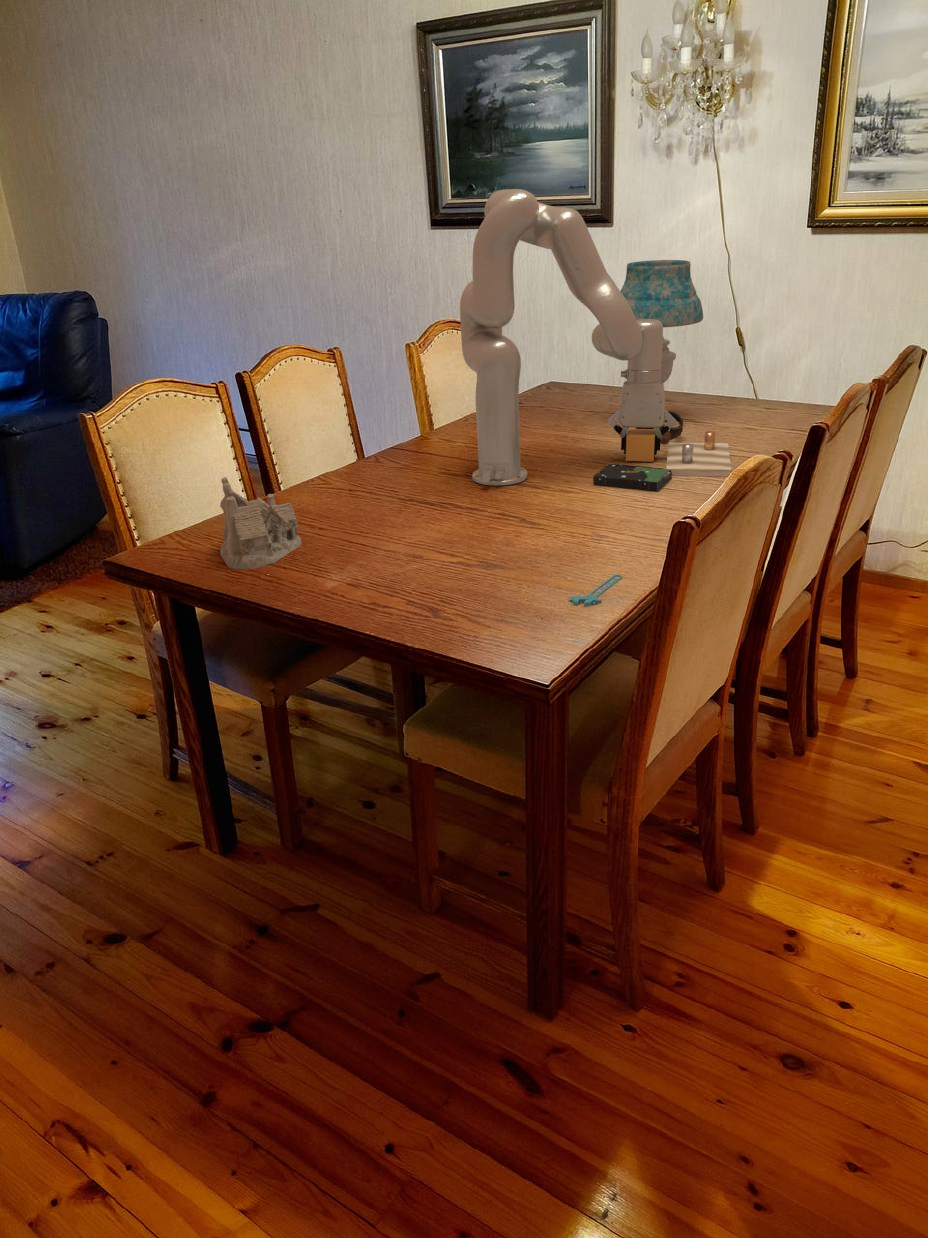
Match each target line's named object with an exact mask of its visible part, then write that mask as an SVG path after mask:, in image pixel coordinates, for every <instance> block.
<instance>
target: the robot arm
mask: <svg viewBox="0 0 928 1238" xmlns="http://www.w3.org/2000/svg"><path fill="white" fill-rule="evenodd" d="M475 234H476V235H475V237H474V242H473V248H472V280H471V281H470V282H469V283H467V285H466V286H465V287H464V289H463V291H462V294H461V297H460V301H459V302H460V303H459V316H460V321H459V322H460V336H461V340H460V341H461V351H462V356H463V360H464V362H465V364H466V365H467V366H468V367H469V368H470V369H471V370H472V371H473V372H475V373H476V383H475V384H476V385H475V415H476V416H475V417H476V435H477V436H476V439H477V440H476V441H477V460H478V469H476V470H475V471H473V472H472V475H471V479H472V481H473V482H475V483H477V484H481V485H484V486H491V487H492V486H494V487H495V486H498V487H499V486H509V485H515V484H518V483H521V482H523V481H526V479H527V478H528V470H527V469H525V468H524V467H521V439H520V437H521V435H520V432H521V431H520V402H519V401H520V399H519V398H520V396H519V395H520V394H519V389H520V387H519V386H520V379H521V378H520V377H521V367H522V361H521V354H520V351H519V349H518V347H517V346H516V344H515V343H514V341H512V340H511V339H510V338H509V337H507V336H504V335H503V327H505V326H507V325H508V324H509V323H510V322H511V320H512V319H513V317H514V313H515V304H516V303H515V288H514V287H515V285H514V283H515V282H514V260H515V259H514V257H515V251H516V249H517V246H518V243H519V242H520V241H521V242H524V243H526V244H529V245H533V246H536V247H539V248H543V249H546V250H551V252H552V254H553V257H554V259H555V260H556V263H557V265H558V268H559V269H560V272H561V274H562V275H563V278H564V280H565V282H566V284H567V286H568V289H569V291H570V293H571V294H572V295H573V296H574V297H575V298H576V299H577V301H579V302H580V303H581V304H582V305H583V306H585V307H586V308H587V309H588V310H589V311H590V312H591V313H592V315H593V317H595V319H596V320H597V321H598V324H597V325H596V326H595V327H594V328H593V330H592V333H591V343H592V346H593V347H594V348H595V350H596V351H597V352H599V353H600V354H603V355H605V356H607V357H610V358H614V359H616V360H619V361H627V369H626V370H621V371H620V377H621V378H625V379H626V380H625V381H624V382H623V384H622V389H621V395H620V403H619V409H618V410H617V411H616V412H614V413H613V414H612V415H611V416H609V418H608V419H607V423H608V424H609V425H610V426H611V428H613V430H614V431H615V432H616V433H617V434H618V435H619V437H620V438H621V439H620V444H621V445H620V450H621V451H623V455H626V438H627V432H628V429H630V428H632V429H636V428H654V431H655V433H656V434H655V444H654V456H658V455H657V454H658V451H661V444H662V443H661V439H662V437H663V435H664V434H665V433H666V432H667V431H670V428H672V427H675V425H676V424H677V421H676V419H675V418H674V417H673V416H672V415H671V414H670V413H669V412H668V411H669V410H668V409H666V408H665V406H666V398H665V397H666V396H665V385H664V383H663V382H662V381H660V378H661V359H662V340H663V337H664V327H663V324H662V323H661V321H659V320H656V319H639V320H636V318H635V316H634V313H633V311H632V309H631V307H630V305H629V304H628V302H627V300H626V299H625V297H624V296H623V294H622V293H621V289H619V287H618V286H617V284H616V283H615V281H614V280H613V278H612V277H611V276H610V274H609V273H608V272H607V271H608V270H607V269H606V267H605V265H604V263H603V260H602V259H601V256H600V254H599V251H598V249H597V246H596V245H595V242H594V240H593V237H592V236H591V233H590V231H589V229H588V227H587V224H586V222H585V220H584V218H583V217H582V215H581V213H580V212H579V211H578V210H576V209H574V208H571V207H565V206H563V207H562V206H553V205H549V204H545V203H542V202H540V201H538V199H537V198H536V196H535V195H534V194H533V193H531V192H530V191H528V190H525V189H522V188H521V189H520V188H511V189H509V188H508V189H507V188H506V189H500V190H497V191H495V192H493V194H491V195H490V196H489V197H488V199H487V200H486V202H485V206H484V219H483V221H482V222H481V224H480V226H479V228H478V229H477V231H476V233H475ZM667 410H668V411H667ZM664 417H665V418H666V419H667V423H666V424H665V423H664V422H665V421H664ZM618 419H619V420H618ZM617 420H618V421H619V423H617ZM663 424H664V425H665V426H664V427H663V428H662V429H661V428H660V426H662V425H663Z"/></svg>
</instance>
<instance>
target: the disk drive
mask: <svg viewBox="0 0 928 1238" xmlns="http://www.w3.org/2000/svg"><path fill="white" fill-rule="evenodd" d="M672 478H673V476H672V472H671V470H669V469H665V468H663V467H662V468H661V467H649V466H640V465H629V464H620V463H608V464H607V465H605V466H604V467H603V468H602V469H600V470H599V472H596V473H595V474H594V475H593V480H592V482H593V484H592V485H593V486H596V487H605V488H607V487H608V488H613V489H614V488H615V489H626V490H634V491H643V492H651V493H658V492H660V490H662V489H663V488H664V487H665V486H666V485H667V484H668V483H669V482H670V481H671V480H672Z"/></svg>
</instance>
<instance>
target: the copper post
mask: <svg viewBox="0 0 928 1238" xmlns="http://www.w3.org/2000/svg"><path fill="white" fill-rule="evenodd" d="M716 434H717V433H716V431H713V430H710V431H709V430H708V431H704V440H703V441H704V442H703V443H704V450H707V451H712V450H714V449H715V443H716Z"/></svg>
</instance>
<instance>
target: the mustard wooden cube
mask: <svg viewBox="0 0 928 1238" xmlns="http://www.w3.org/2000/svg"><path fill="white" fill-rule="evenodd" d="M655 436H656V433H655V431H654V429H636V428H629V429H628V431H627V438H626V454H625V461H626V462H654V460H655V459H654V458H655V455H654V444H655Z"/></svg>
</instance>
